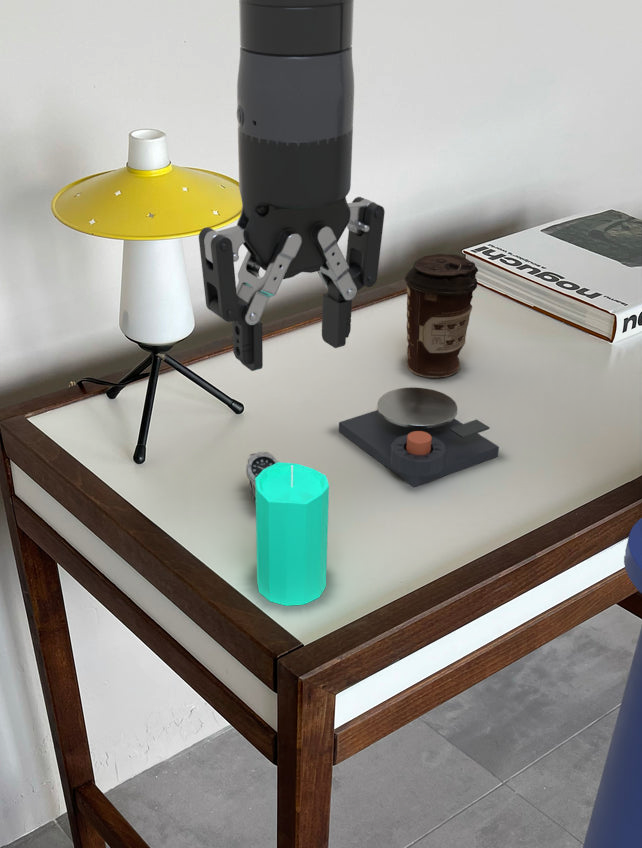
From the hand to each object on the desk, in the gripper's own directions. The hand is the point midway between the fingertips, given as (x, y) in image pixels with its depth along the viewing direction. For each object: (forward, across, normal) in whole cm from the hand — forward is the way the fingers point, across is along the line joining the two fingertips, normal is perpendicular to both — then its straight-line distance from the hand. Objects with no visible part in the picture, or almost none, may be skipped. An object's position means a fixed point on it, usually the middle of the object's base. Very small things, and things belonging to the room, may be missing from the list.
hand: (293, 354), depth 75 cm
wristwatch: (+22, +5, +13) cm, 26 cm away
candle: (+22, 0, 0) cm, 22 cm away
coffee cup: (+22, +37, +26) cm, 50 cm away
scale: (+22, +24, +13) cm, 35 cm away
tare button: (+19, +20, +8) cm, 29 cm away
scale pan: (+19, +25, +13) cm, 34 cm away
